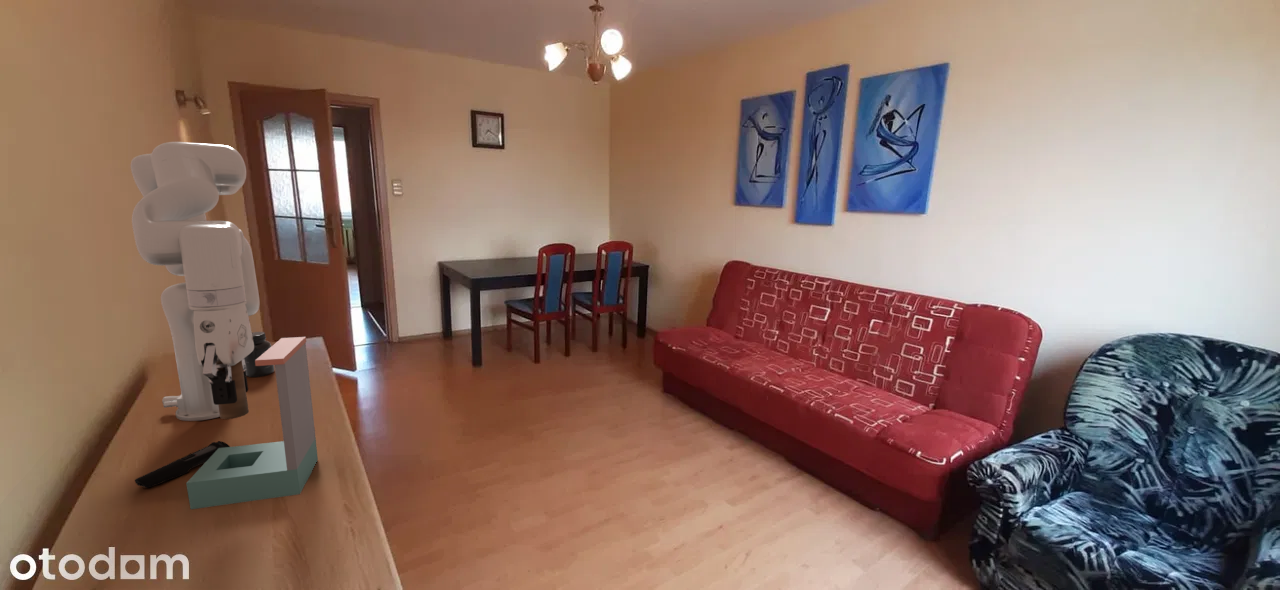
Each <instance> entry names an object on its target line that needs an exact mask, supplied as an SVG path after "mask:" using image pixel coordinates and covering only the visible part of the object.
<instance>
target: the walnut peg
mask: <svg viewBox="0 0 1280 590" xmlns="http://www.w3.org/2000/svg"><path fill="white" fill-rule="evenodd" d="M217 364H223V363H222V361H217ZM218 370H222V371H223V372H224V373H225V370H224V368H218ZM231 374H232V380H235V387H236V394H237V402H235V403H231V404H220V405H218V407H219V414H220V419H221V420H233V419H238V418H241V417H244V416H246V415H248V414H249V404H248V398H247V392H246V388H245V381H244V374H243V366H242V360H241V361H240V362H238V363H237V364H236V365H233V366H231Z"/></svg>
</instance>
